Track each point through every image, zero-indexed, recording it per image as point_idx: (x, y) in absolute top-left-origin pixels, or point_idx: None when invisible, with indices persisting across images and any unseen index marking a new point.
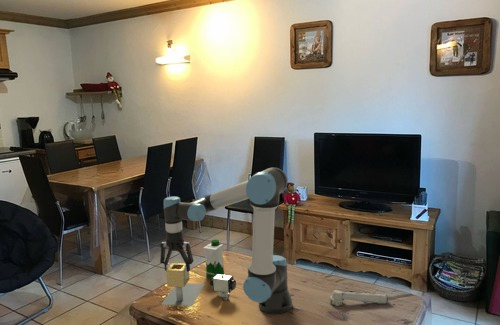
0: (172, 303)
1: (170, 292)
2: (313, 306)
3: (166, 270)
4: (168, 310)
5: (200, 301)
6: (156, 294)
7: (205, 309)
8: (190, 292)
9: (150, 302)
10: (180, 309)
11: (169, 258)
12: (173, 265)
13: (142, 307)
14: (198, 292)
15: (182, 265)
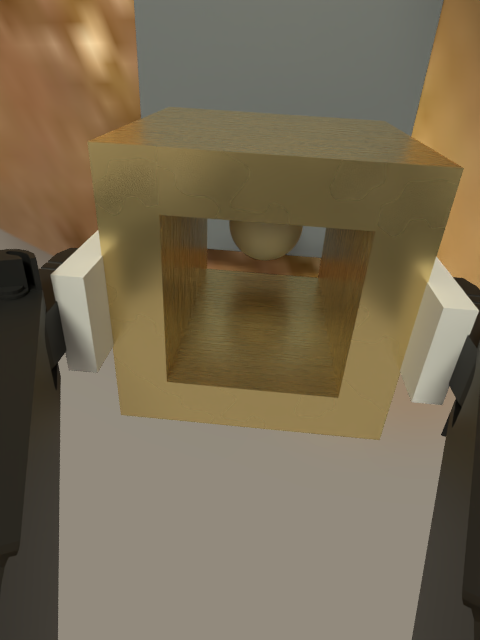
0: (227, 228)
1: (139, 25)
2: None
3: (130, 411)
4: (218, 268)
5: (433, 141)
6: (9, 10)
7: (471, 258)
8: (338, 21)
9: (41, 162)
10: (295, 257)
11: (40, 348)
12: (162, 244)
13: (28, 232)
14: (422, 18)
15: (335, 221)
